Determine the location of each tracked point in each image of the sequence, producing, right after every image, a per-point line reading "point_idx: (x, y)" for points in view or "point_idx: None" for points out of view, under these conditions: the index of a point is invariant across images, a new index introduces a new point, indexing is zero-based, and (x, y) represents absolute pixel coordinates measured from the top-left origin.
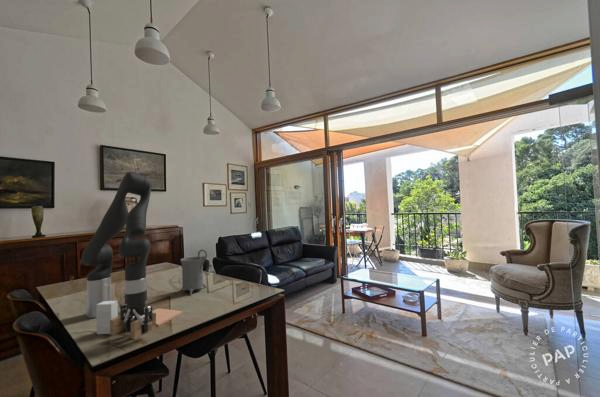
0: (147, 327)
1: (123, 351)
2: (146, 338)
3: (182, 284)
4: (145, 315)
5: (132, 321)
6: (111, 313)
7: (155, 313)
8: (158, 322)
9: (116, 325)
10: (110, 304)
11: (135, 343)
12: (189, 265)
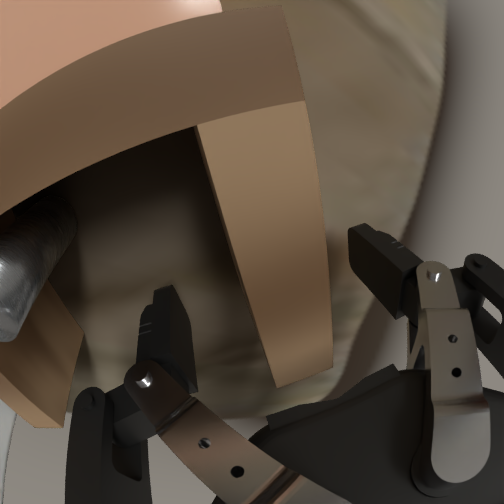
0: (404, 251)
1: (350, 341)
2: (350, 219)
3: None
4: (499, 359)
5: (46, 264)
6: (4, 453)
7: (281, 16)
8: (179, 3)
9: (55, 367)
10: None
11: (340, 287)
12: None
